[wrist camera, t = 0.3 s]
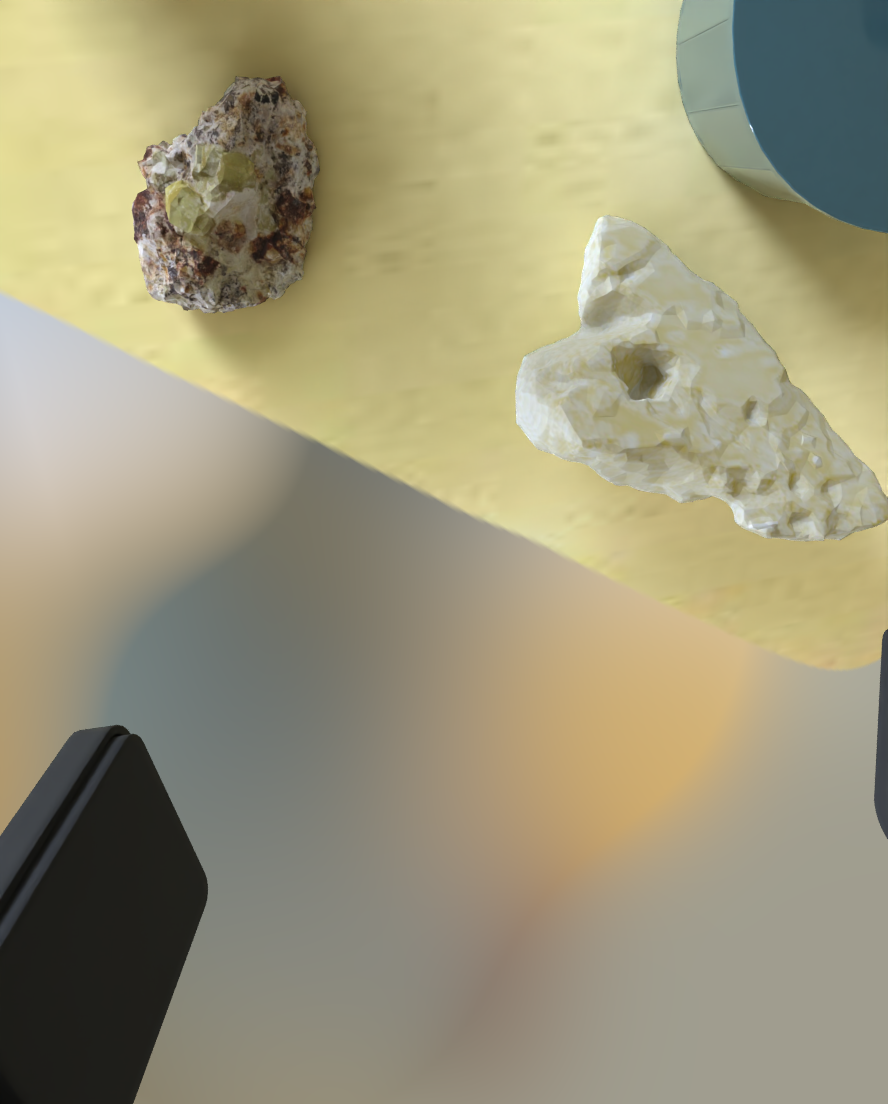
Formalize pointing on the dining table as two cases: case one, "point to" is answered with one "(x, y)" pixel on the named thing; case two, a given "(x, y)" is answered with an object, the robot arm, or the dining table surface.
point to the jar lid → (817, 99)
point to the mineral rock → (229, 202)
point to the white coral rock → (688, 399)
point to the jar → (718, 97)
